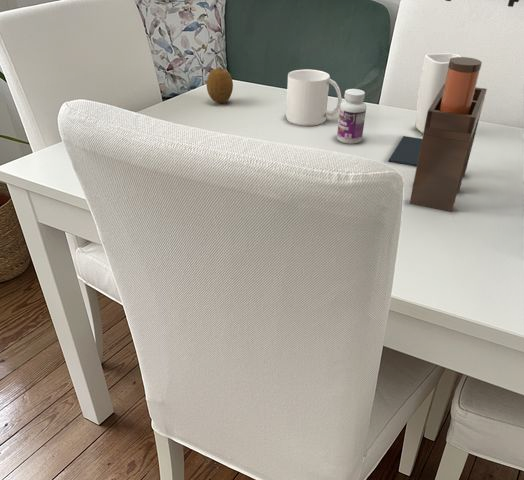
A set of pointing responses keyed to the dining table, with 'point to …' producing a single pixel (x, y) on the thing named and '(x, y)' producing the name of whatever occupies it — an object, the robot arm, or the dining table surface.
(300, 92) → the mug
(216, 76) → the fruit
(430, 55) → the cup
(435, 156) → the rack
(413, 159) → the mat
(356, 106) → the pill bottle
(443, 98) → the spice jar
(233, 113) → the dining table surface
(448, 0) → the robot arm
